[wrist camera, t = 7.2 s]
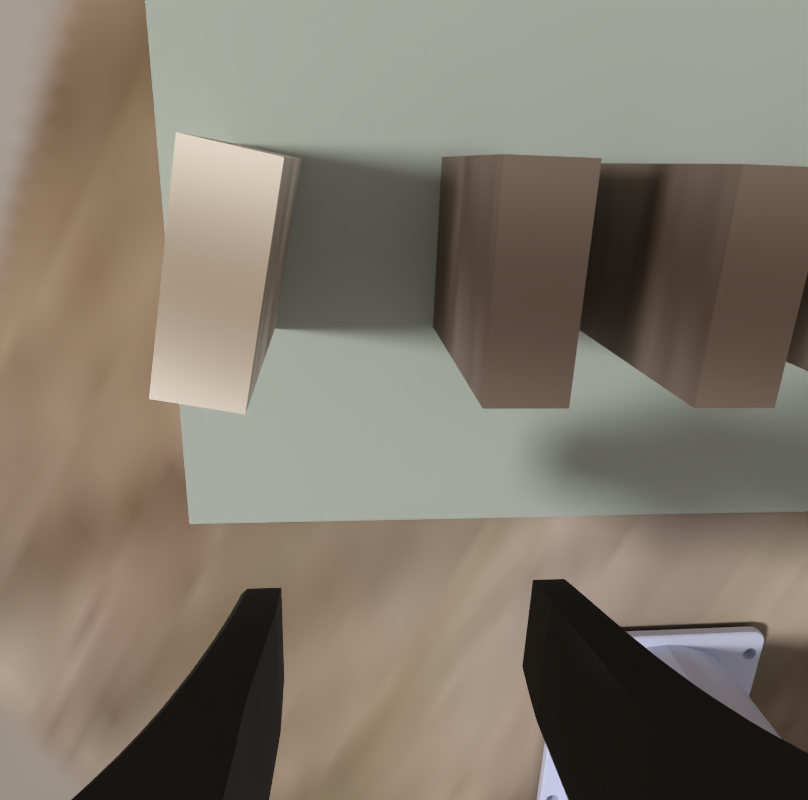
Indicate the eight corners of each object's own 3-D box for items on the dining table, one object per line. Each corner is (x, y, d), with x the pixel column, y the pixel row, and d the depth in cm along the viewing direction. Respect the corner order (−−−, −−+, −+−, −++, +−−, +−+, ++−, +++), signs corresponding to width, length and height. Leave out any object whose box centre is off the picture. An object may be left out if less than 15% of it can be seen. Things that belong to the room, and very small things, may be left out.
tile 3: (633, 329, 20) (774, 408, 14) (576, 328, 20) (694, 408, 14) (658, 165, 19) (833, 167, 12) (598, 162, 19) (743, 163, 12)
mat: (914, 505, 24) (921, 509, 24) (191, 519, 21) (189, 523, 21) (1081, 12, 19) (1093, 9, 19) (143, -57, 16) (140, -60, 16)
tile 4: (491, 327, 20) (569, 408, 13) (432, 326, 20) (482, 408, 13) (505, 159, 18) (601, 158, 12) (441, 157, 18) (503, 154, 12)
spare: (275, 328, 19) (245, 414, 13) (212, 317, 19) (149, 398, 12) (302, 158, 18) (284, 157, 11) (234, 143, 17) (175, 132, 11)
